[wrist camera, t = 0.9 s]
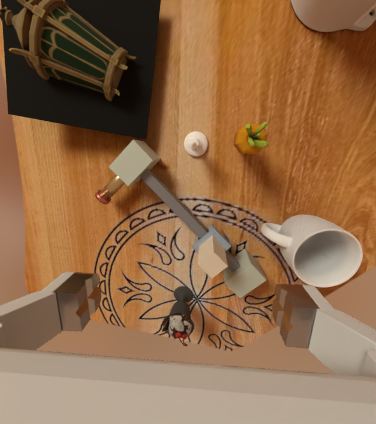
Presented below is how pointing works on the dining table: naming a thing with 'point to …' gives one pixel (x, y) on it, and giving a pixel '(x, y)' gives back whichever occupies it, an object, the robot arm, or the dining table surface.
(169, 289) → the dining table surface
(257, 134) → the carrot
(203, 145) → the chess piece
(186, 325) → the sundae
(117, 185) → the cylinder
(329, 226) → the mug
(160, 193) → the guide rail
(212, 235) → the carriage
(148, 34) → the lantern
